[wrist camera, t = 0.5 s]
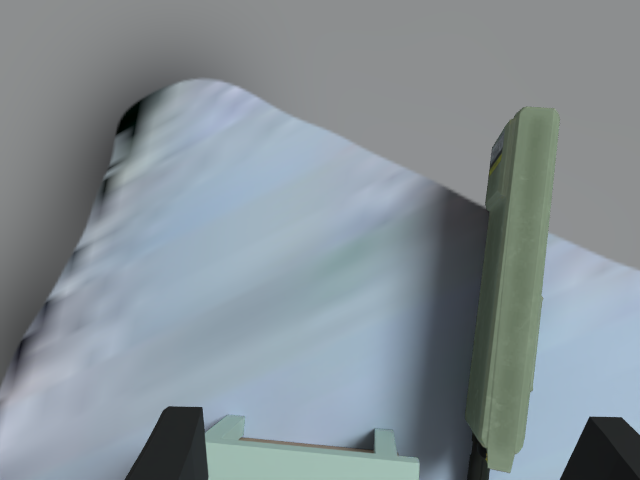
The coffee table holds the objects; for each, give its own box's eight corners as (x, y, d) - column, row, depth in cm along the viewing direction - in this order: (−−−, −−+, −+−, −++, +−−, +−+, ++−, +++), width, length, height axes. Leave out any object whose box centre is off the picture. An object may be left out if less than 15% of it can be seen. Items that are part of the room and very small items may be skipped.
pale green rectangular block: (403, 500, 36) (414, 570, 27) (209, 480, 38) (155, 539, 28) (407, 422, 37) (419, 463, 28) (215, 404, 38) (164, 438, 29)
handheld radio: (540, 143, 38) (497, 519, 36) (491, 138, 39) (445, 509, 36) (570, 109, 32) (520, 567, 29) (510, 103, 32) (456, 554, 30)
